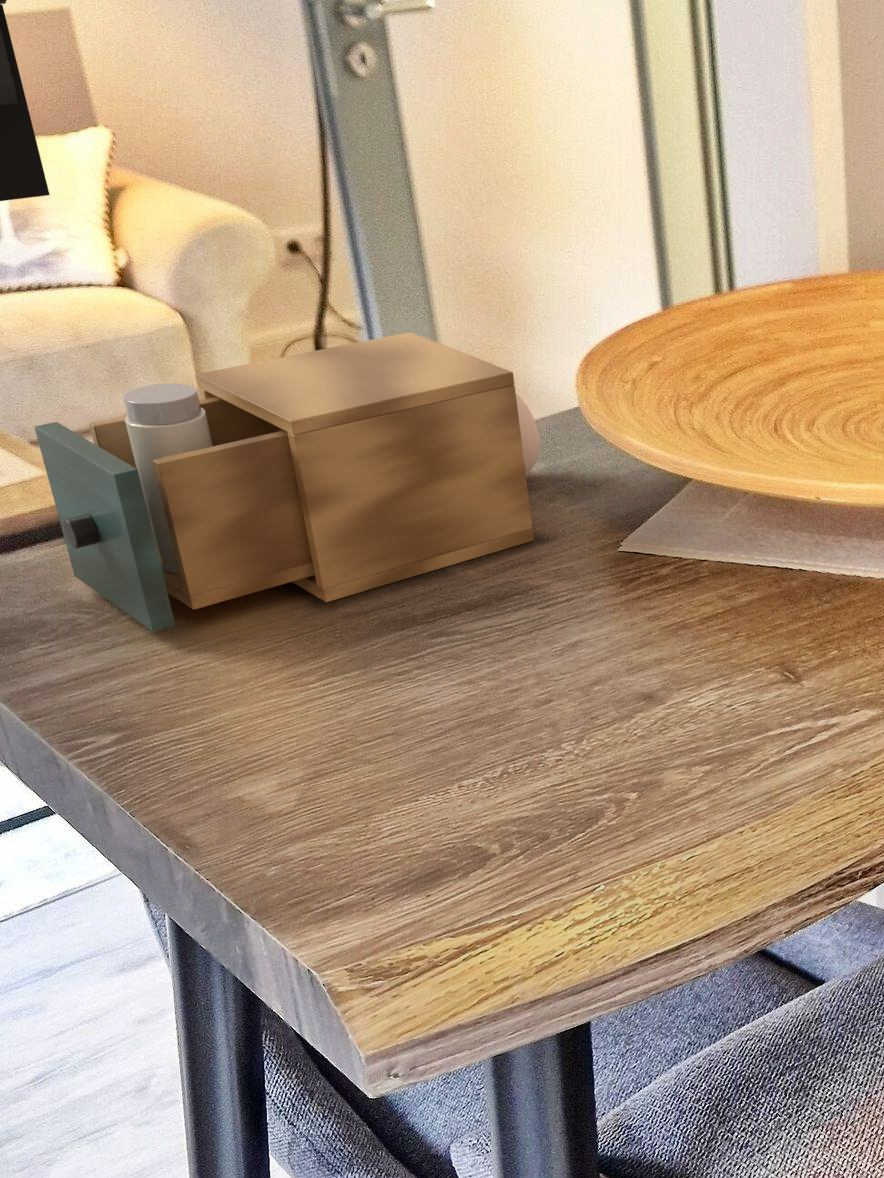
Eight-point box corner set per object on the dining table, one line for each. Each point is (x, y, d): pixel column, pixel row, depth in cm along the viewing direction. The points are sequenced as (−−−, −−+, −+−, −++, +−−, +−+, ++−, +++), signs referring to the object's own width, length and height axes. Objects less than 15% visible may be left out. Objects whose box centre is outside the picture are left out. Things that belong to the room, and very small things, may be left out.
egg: (559, 481, 114) (548, 384, 111) (502, 502, 111) (489, 402, 107) (510, 466, 116) (498, 370, 113) (453, 486, 113) (438, 387, 110)
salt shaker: (147, 560, 96) (106, 392, 91) (217, 542, 98) (181, 377, 94) (178, 581, 93) (138, 409, 89) (249, 561, 96) (213, 393, 91)
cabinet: (326, 602, 96) (290, 421, 91) (232, 546, 103) (194, 374, 98) (534, 540, 105) (513, 371, 100) (435, 492, 112) (410, 331, 107)
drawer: (130, 639, 89) (89, 480, 85) (52, 582, 96) (10, 431, 91) (372, 569, 98) (346, 421, 94) (286, 521, 104) (258, 380, 100)
